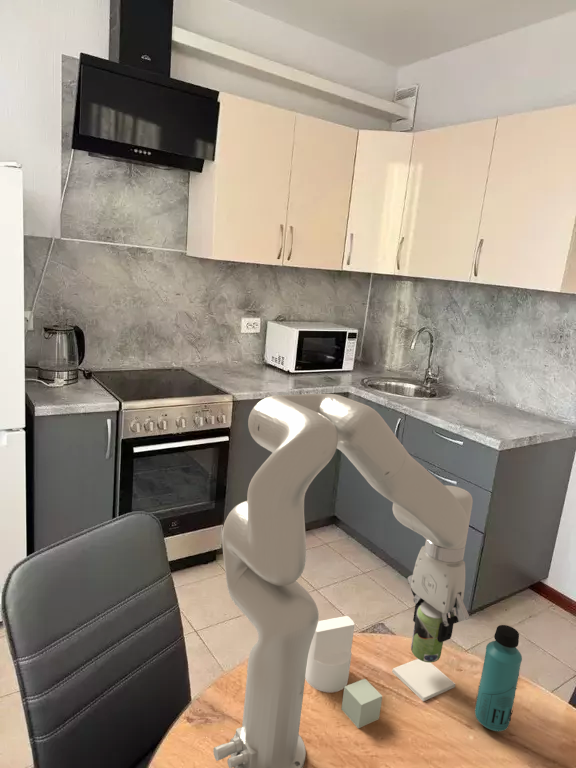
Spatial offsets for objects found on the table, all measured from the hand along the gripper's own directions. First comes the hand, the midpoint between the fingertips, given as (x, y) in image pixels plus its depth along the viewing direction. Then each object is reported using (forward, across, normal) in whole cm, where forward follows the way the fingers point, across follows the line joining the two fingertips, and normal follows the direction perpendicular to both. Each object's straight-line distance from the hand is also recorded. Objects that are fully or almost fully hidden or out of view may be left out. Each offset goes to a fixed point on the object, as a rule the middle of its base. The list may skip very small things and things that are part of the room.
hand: (431, 629), depth 113 cm
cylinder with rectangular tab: (+12, -10, -18) cm, 24 cm away
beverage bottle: (+12, +14, +3) cm, 19 cm away
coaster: (+12, 0, 0) cm, 12 cm away
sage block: (+12, +2, -18) cm, 22 cm away
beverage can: (+7, 0, 0) cm, 7 cm away
